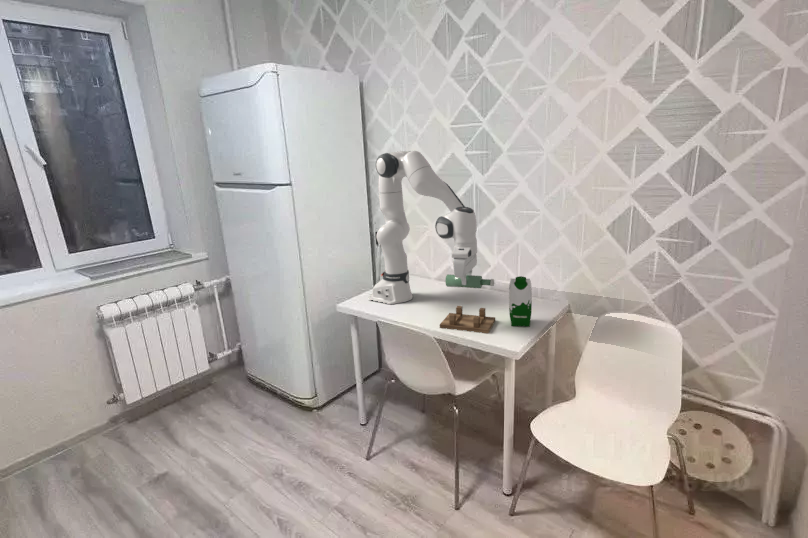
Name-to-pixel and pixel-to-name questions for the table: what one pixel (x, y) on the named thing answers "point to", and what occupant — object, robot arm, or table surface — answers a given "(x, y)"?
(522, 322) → the milk carton
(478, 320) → the cradle
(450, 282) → the bottle
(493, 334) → the table surface
